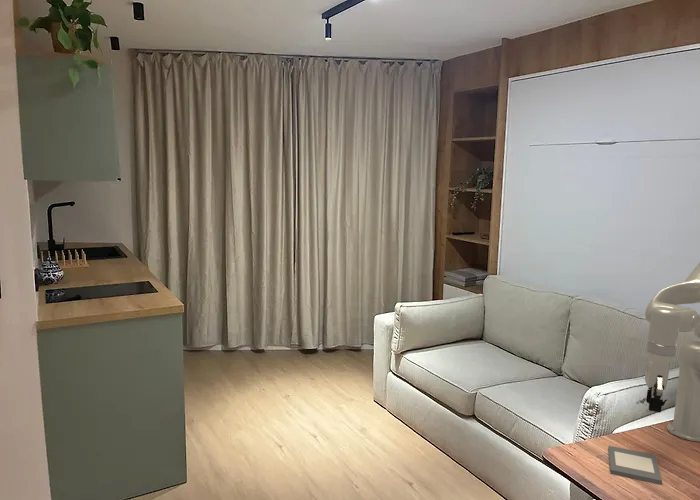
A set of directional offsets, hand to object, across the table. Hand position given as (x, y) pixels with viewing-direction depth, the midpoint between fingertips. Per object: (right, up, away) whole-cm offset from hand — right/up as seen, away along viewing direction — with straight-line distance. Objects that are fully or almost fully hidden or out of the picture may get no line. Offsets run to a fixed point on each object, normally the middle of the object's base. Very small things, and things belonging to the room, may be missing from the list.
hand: (653, 406), depth 170 cm
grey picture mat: (-8, -17, -3) cm, 19 cm away
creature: (-1, -1, +1) cm, 1 cm away
